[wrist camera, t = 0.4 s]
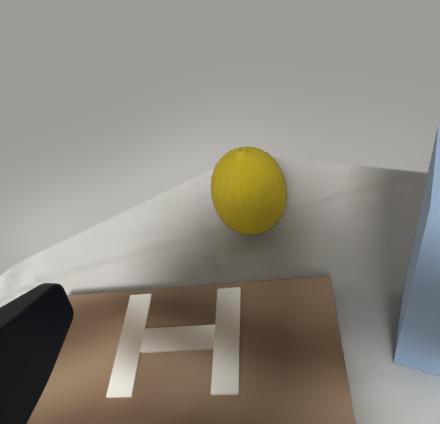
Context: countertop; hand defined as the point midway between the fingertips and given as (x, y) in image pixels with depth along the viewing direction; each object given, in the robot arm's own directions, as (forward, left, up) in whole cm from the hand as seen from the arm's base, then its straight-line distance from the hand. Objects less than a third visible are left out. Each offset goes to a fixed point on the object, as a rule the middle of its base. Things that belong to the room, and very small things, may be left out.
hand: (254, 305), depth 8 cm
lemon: (+17, +2, -17) cm, 24 cm away
